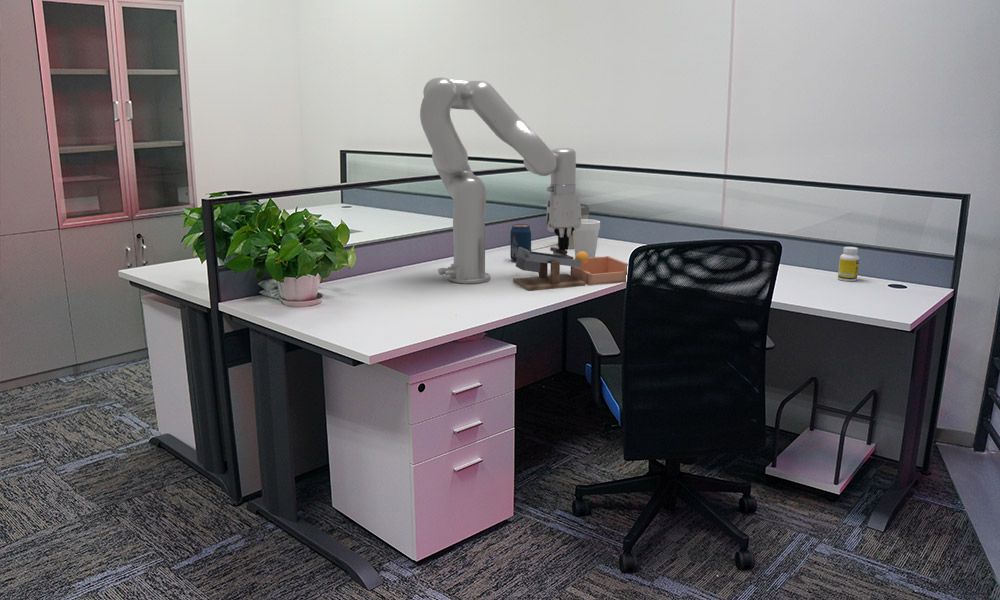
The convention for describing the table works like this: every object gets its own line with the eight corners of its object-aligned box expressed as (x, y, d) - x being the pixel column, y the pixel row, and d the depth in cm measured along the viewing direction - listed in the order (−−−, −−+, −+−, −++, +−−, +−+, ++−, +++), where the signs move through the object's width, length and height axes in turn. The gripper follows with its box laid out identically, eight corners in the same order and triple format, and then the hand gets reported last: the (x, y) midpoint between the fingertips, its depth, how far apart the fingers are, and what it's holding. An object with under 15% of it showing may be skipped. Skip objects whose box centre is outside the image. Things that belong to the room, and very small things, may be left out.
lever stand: (528, 290, 237) (528, 265, 235) (513, 281, 247) (513, 257, 246) (585, 285, 243) (585, 260, 241) (567, 277, 254) (568, 253, 252)
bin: (588, 285, 243) (588, 266, 242) (570, 276, 254) (570, 259, 253) (627, 281, 248) (627, 263, 246) (608, 273, 259) (608, 256, 257)
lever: (523, 270, 237) (527, 250, 236) (504, 260, 251) (507, 241, 250) (580, 277, 245) (584, 257, 244) (558, 267, 259) (562, 248, 257)
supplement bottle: (857, 282, 246) (861, 249, 244) (838, 281, 248) (841, 248, 246) (856, 278, 251) (859, 246, 249) (837, 277, 253) (840, 245, 250)
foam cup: (600, 262, 275) (601, 223, 272) (572, 262, 275) (572, 223, 272) (597, 256, 284) (598, 219, 281) (570, 256, 284) (571, 219, 281)
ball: (582, 250, 244) (593, 255, 246) (576, 248, 248) (587, 252, 250) (576, 262, 245) (587, 267, 246) (571, 260, 248) (581, 265, 250)
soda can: (532, 259, 280) (532, 224, 277) (529, 263, 274) (530, 227, 271) (511, 258, 281) (511, 223, 278) (509, 262, 275) (509, 226, 272)
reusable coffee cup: (579, 251, 294) (580, 209, 290) (548, 247, 300) (548, 206, 297) (594, 245, 304) (595, 204, 301) (563, 242, 311) (564, 202, 307)
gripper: (545, 192, 245) (546, 253, 249) (591, 189, 250) (590, 249, 255) (535, 190, 252) (536, 249, 256) (579, 186, 257) (579, 245, 261)
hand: (563, 249), depth 255 cm, fingers closed
